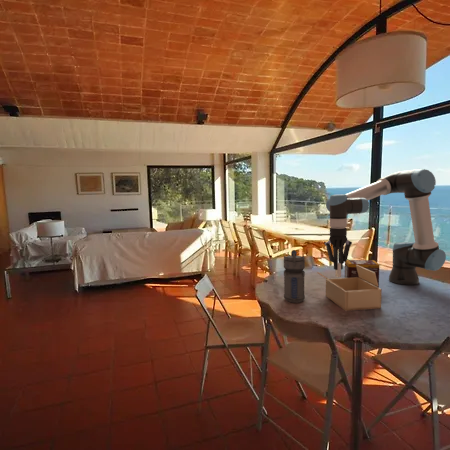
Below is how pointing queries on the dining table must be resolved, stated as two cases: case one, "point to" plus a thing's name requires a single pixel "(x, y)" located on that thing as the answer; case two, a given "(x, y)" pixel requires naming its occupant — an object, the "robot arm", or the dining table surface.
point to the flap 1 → (329, 280)
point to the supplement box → (368, 264)
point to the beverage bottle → (294, 278)
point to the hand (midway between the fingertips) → (338, 276)
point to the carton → (353, 294)
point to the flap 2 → (367, 275)
